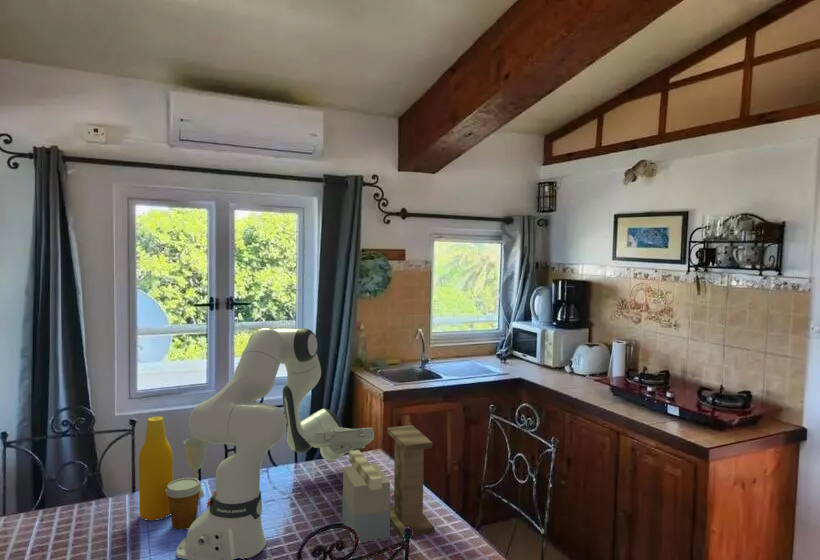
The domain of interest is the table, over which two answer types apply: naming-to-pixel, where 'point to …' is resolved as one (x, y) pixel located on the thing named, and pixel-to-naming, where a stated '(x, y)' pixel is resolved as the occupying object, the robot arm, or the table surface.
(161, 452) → the beer bottle
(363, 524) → the tower base block
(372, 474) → the batten
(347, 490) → the tower top block
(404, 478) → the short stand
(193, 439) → the chalice
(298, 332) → the robot arm
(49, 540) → the table surface
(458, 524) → the table surface
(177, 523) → the disposable coffee cup
